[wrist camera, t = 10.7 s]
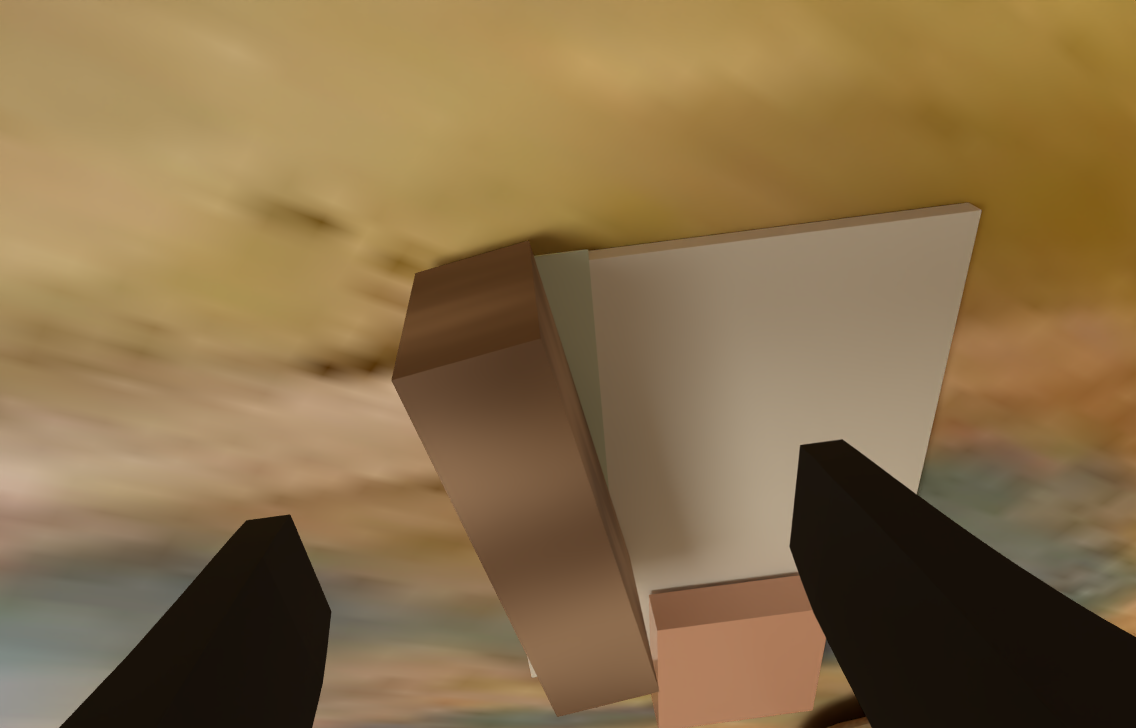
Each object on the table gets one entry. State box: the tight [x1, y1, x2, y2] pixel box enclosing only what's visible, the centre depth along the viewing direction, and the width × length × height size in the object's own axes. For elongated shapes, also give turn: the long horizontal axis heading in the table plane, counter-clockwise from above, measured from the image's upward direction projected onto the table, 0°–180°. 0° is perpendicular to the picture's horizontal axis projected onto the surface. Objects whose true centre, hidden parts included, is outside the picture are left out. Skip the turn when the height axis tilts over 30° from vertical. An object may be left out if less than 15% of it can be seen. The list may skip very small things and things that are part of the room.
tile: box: [649, 575, 826, 728], centre depth 26 cm, size 6×2×6 cm
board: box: [528, 203, 982, 677], centre depth 23 cm, size 14×17×1 cm
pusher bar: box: [392, 240, 660, 717], centre depth 19 cm, size 12×3×5 cm, turn 15°
